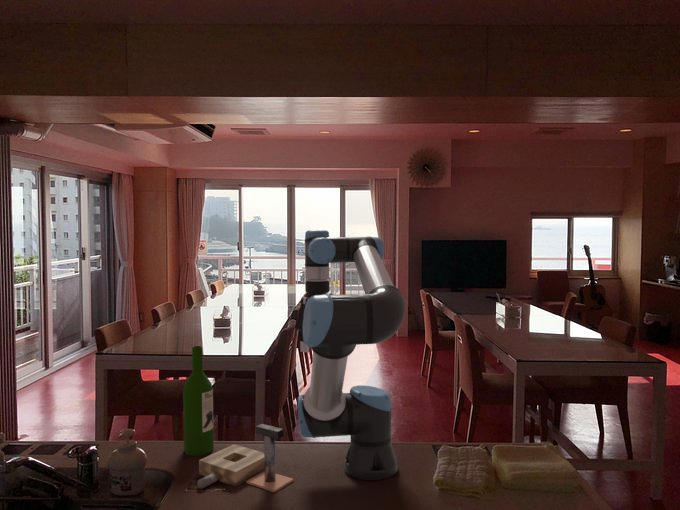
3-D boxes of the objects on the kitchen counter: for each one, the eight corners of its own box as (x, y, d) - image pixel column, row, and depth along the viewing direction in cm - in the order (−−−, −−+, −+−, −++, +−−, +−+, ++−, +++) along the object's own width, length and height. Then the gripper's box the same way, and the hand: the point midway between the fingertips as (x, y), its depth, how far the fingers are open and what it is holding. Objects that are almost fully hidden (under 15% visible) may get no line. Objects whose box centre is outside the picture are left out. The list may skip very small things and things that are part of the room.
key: (263, 474, 159) (262, 423, 158) (284, 481, 155) (284, 428, 154) (255, 478, 157) (255, 426, 156) (277, 485, 153) (276, 432, 152)
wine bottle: (204, 457, 173) (202, 350, 171) (178, 454, 175) (176, 349, 173) (218, 446, 181) (217, 344, 179) (193, 443, 184) (191, 343, 182)
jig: (269, 467, 165) (269, 454, 165) (219, 495, 148) (219, 480, 148) (234, 457, 173) (233, 444, 172) (182, 482, 156) (182, 467, 156)
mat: (293, 481, 156) (293, 478, 156) (274, 492, 150) (274, 490, 150) (265, 472, 162) (265, 470, 162) (246, 483, 155) (246, 481, 155)
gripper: (329, 276, 190) (330, 339, 191) (282, 282, 169) (283, 353, 170) (349, 277, 186) (349, 342, 187) (302, 284, 165) (303, 356, 166)
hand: (317, 347), depth 178 cm, fingers open, 13 cm apart
